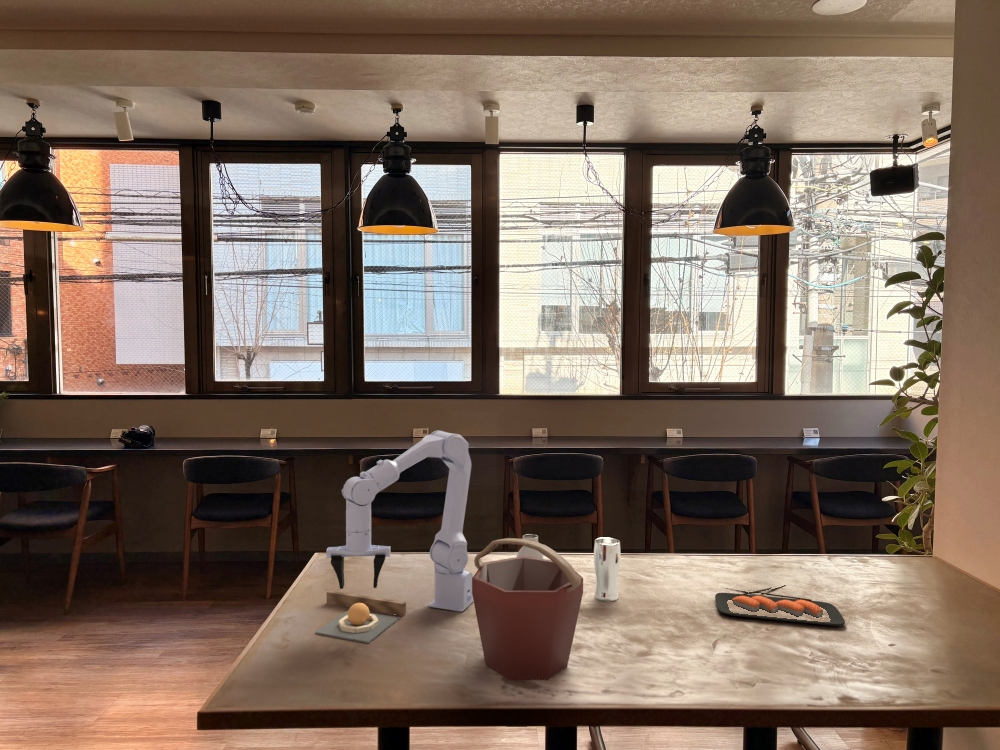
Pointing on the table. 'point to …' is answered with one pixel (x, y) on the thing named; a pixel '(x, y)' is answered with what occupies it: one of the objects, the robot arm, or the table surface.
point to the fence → (367, 602)
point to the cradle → (357, 627)
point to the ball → (358, 614)
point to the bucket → (526, 611)
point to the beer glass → (607, 568)
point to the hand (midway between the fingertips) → (358, 586)
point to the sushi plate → (779, 606)
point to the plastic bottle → (529, 551)
